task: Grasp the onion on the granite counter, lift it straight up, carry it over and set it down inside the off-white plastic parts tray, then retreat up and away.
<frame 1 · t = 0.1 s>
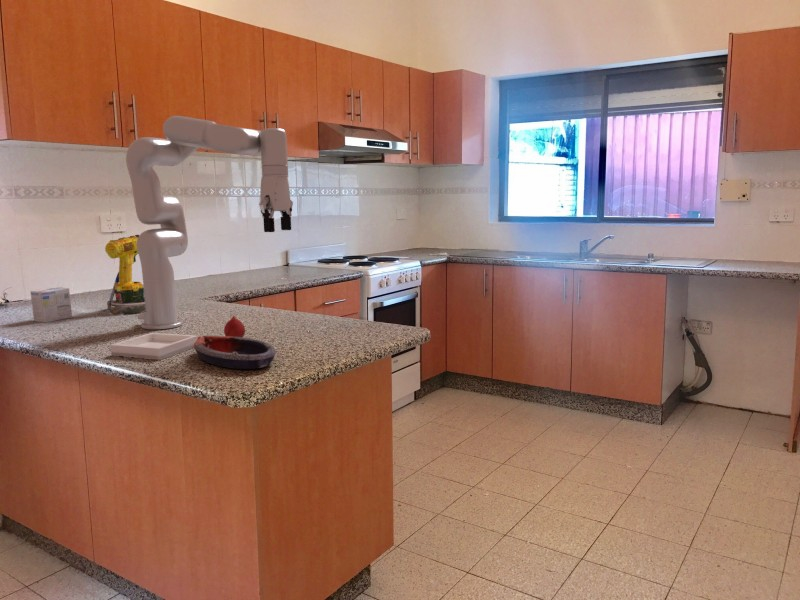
hand: (278, 231, 193), 31 cm above the countertop, fingers open, 9 cm apart
light bulb box: (53, 320, 230), on the countertop
cordless drill: (136, 310, 247), on the countertop
parts tray: (156, 350, 179), on the countertop
dish: (233, 361, 168), on the countertop
onion: (235, 343, 187), on the countertop
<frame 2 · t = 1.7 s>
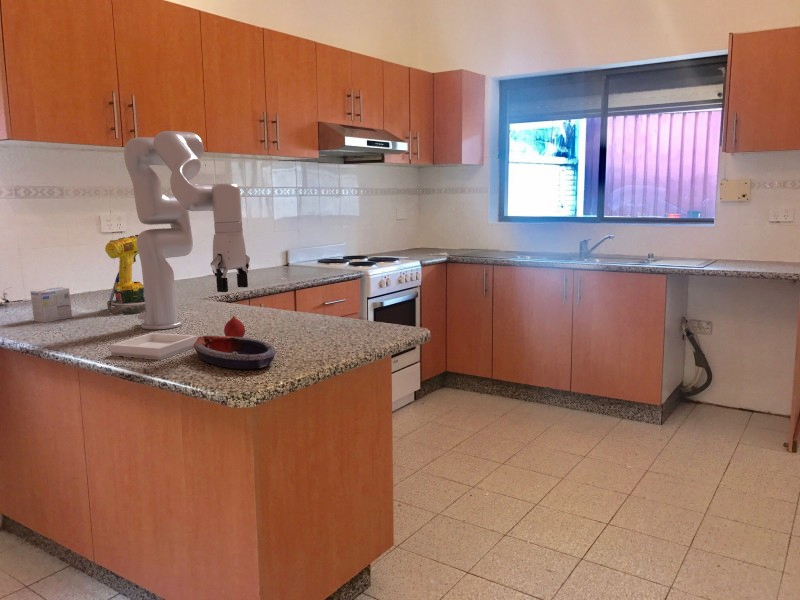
hand: (233, 289, 184), 16 cm above the countertop, fingers open, 9 cm apart
nothing on the countertop moved.
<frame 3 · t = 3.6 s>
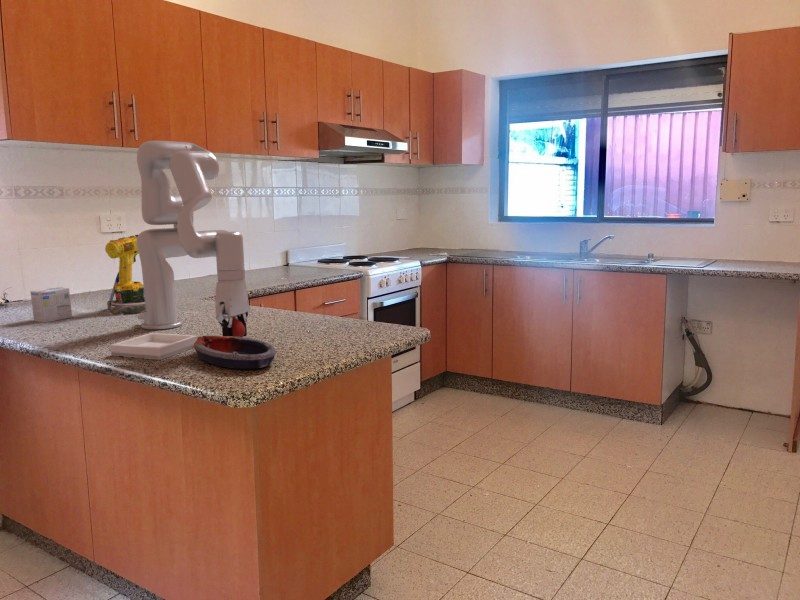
hand: (235, 337, 187), 2 cm above the countertop, fingers closed on onion, 5 cm apart
onion: (235, 343, 187), on the countertop, touching gripper
everything else where it was.
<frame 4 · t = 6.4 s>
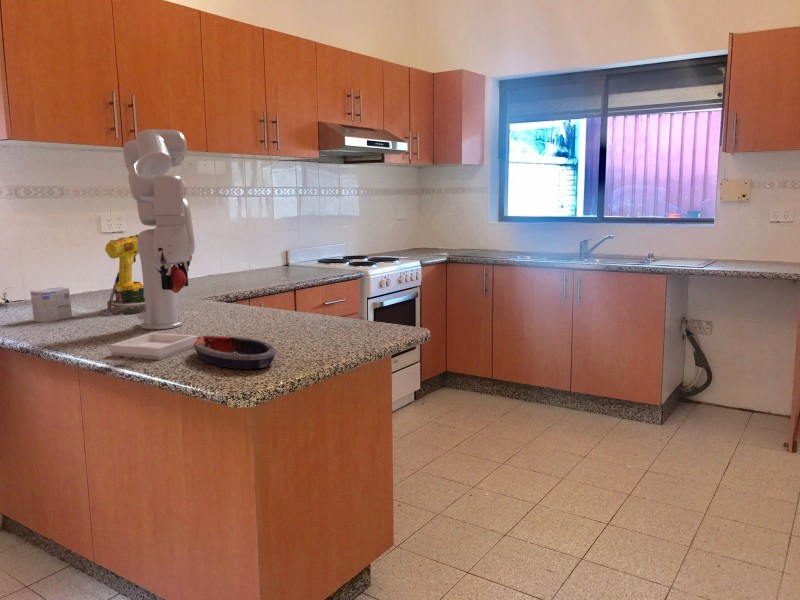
hand: (175, 287, 179), 17 cm above the countertop, fingers closed on onion, 5 cm apart
onion: (176, 293, 179), point 15 cm above the countertop, touching gripper
everything else where it was.
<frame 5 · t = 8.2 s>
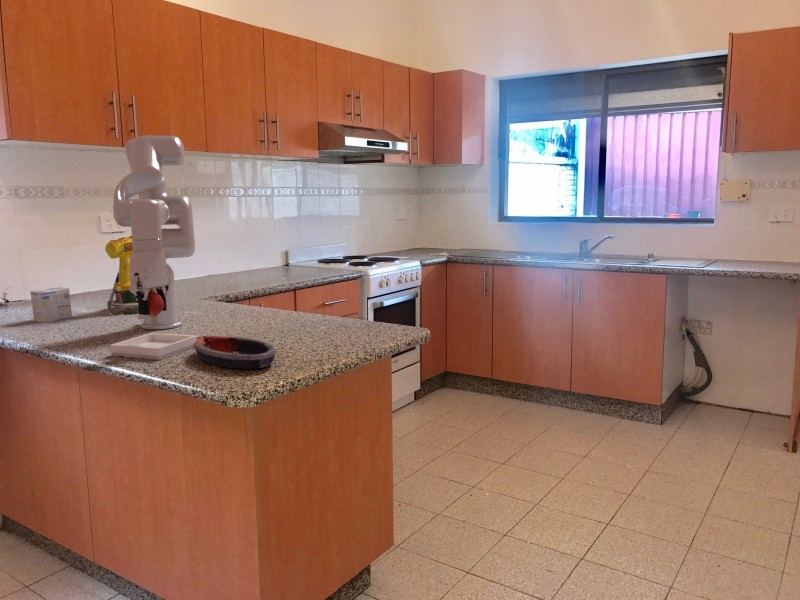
hand: (153, 311, 177), 11 cm above the countertop, fingers closed on onion, 5 cm apart
onion: (153, 318, 178), point 9 cm above the countertop, touching gripper
everything else where it was.
when the fingers open (5 cm above the countertop, at t = 9.7 s): onion drops 2 cm, resting on parts tray.
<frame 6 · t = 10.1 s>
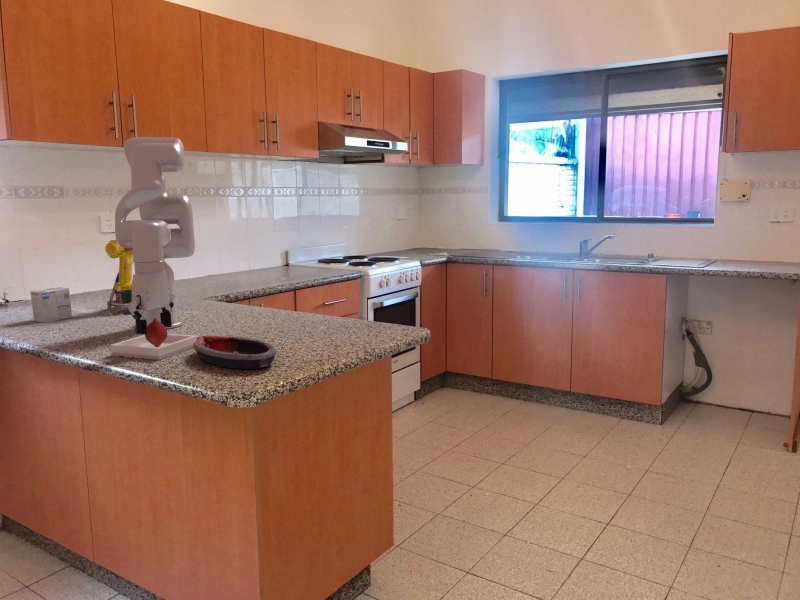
hand: (154, 330, 178), 6 cm above the countertop, fingers open, 9 cm apart
onion: (157, 347, 180), point 1 cm above the countertop, touching parts tray
everything else where it was.
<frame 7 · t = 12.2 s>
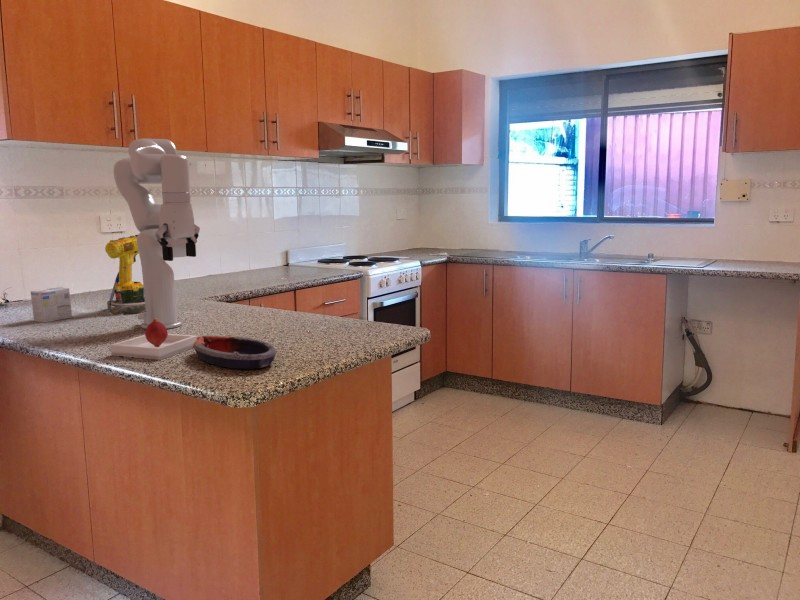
hand: (180, 258, 190), 24 cm above the countertop, fingers open, 9 cm apart
nothing on the countertop moved.
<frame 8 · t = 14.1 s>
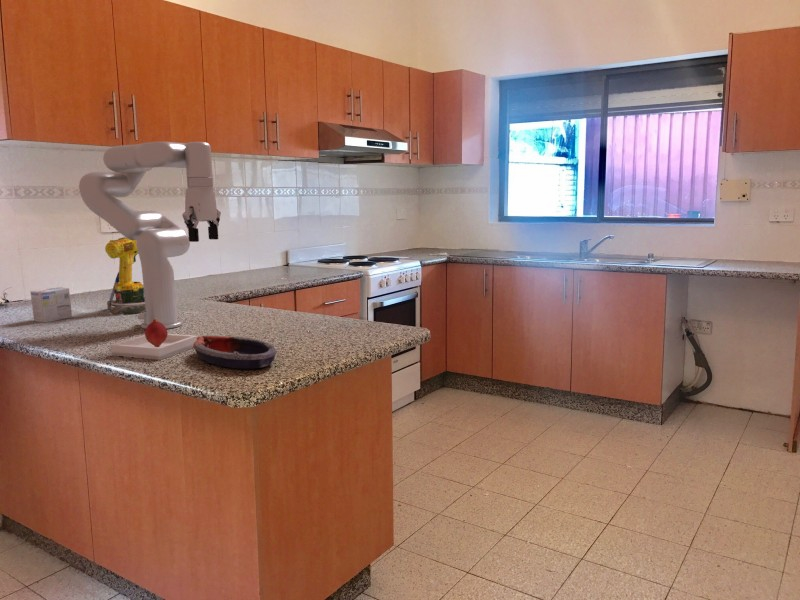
hand: (204, 240, 200), 28 cm above the countertop, fingers open, 9 cm apart
nothing on the countertop moved.
at the end: onion inside the target area on the parts tray (0.6 cm from its centre), point 0.8 cm above the parts tray's base; the gripper is holding nothing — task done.
